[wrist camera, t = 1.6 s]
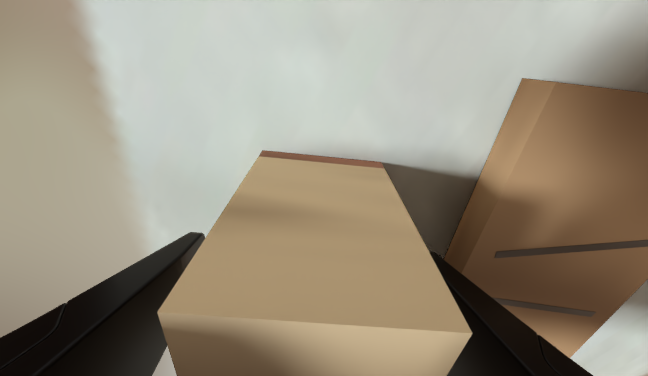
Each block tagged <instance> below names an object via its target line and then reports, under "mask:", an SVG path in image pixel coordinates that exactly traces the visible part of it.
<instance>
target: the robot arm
mask: <svg viewBox="0 0 648 376" xmlns="http://www.w3.org/2000/svg"><path fill="white" fill-rule="evenodd" d="M204 240H205V236H204V234H203V233H197V232H190V233H188V234H186V235H184V236H183V237H181V238H179V239H177V240H176V241H174V242H172V243H170V244H168V245H167V246H165V247H163V248H161V249H160V250H158V251H156V252H154V253H152V254H151V255H149V256H147V257H145V258H144V259H142V260H140V261H138V262H137V263H135V264H133V265H131V266H130V267H128V268H126V269H124V270H122V271H121V272H119V273H117V274H115V275H113V276H112V277H110V278H108V279H106V280H105V281H103V282H101V283H99V284H98V285H96V286H94V287H92V288H90V289H88V290H87V291H85V292H83V293H81V294H80V295H78V296H76V297H75V298H72V299H71V300H69V301H68V302H67V303H64V304H62V305H60V306H58V307H56V308H55V309H53V310H51V311H49V312H47V313H46V314H44V315H42V316H40V317H38V318H37V319H35V320H33V321H31V322H29V323H27V324H26V325H24V326H22V327H20V328H18V329H16V330H14V331H12V332H11V333H9V334H7V335H5V336H3V337H1V338H0V376H152V374H153V373H154V371H155V369H156V367H157V365H158V363H159V361H160V359H161V357H162V355H163V353H164V351H165V349H166V347H167V342H166V339H165V336H164V332H163V329H162V326H161V323H160V320H159V317H158V313H157V312H158V310H159V309H160V307H161V306H162V304H163V303H164V301H165V300H166V298H167V297H168V295H169V293H170V292H171V290H172V289H173V287H174V286H175V284H176V283H177V281H178V280H179V278H180V277H181V275H182V274H183V272H184V270H185V269H186V267H187V266H188V264H189V263H190V261H191V260H192V258H193V257H194V255H195V254H196V252H197V250H198V249H199V247H200V246H201V244H202V243H203V241H204ZM429 253H430V255H431V257H432V258H433V260H434V262H435V264H436V266H437V268H438V270H439V272H440V273H441V275H442V277H443V279H444V281H445V283H446V285H447V286H448V288H449V290H450V292H451V294H452V296H453V298H454V300H455V301H456V303H457V305H458V307H459V309H460V311H461V313H462V315H463V316H464V318H465V320H466V322H467V324H468V326H469V328H470V330H471V331H472V333H473V334H472V335H471V337H470V338H469V340H468V342H467V343H466V345H465V347H464V348H463V350H462V351H461V353H460V355H459V356H458V358H457V360H456V361H455V363H454V364H453V366H452V368H451V369H450V371H449V372H448V374H447V376H593V375H592V374H590V373H589V372H588V371H586V370H585V369H583V368H582V367H581V366H579V365H578V364H577V363H575V362H574V361H573V360H571V359H570V358H569V357H567V356H566V355H565V354H564V353H562V352H561V351H560V350H558V349H557V348H556V347H554V346H553V345H552V344H551V343H549V342H548V341H547V340H545V339H544V338H543V337H542V336H540V335H537V333H536V332H535V331H534V330H533V329H531V328H530V327H529V326H528V325H526V324H525V323H524V322H522V321H521V320H520V319H519V318H517V317H516V316H515V315H514V314H512V313H511V312H510V311H508V310H507V309H506V308H505V307H503V306H502V305H501V304H500V303H498V302H497V301H496V300H494V299H493V298H492V297H491V296H489V295H488V294H487V293H486V292H484V291H483V290H482V289H480V288H479V287H478V286H477V285H475V284H474V283H473V282H472V281H470V280H469V279H468V278H466V277H465V276H464V275H463V274H461V273H460V272H459V271H458V270H456V269H455V268H454V267H452V266H451V265H450V264H449V263H447V262H446V261H445V260H444V259H442V258H441V257H440V256H438V255H437V254H436V253H434V252H430V251H429Z"/></svg>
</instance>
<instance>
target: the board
mask: <svg viewBox="0 0 648 376" xmlns="http://www.w3.org/2000/svg"><path fill="white" fill-rule="evenodd" d="M444 260H445V261H446V262H447V263H449V264H450V265H451V266H452V267H454V268H455V269H456V270H458V271H459V272H460V273H461V274H463V275H464V276H465V277H466V278H468V279H469V280H470V281H472V282H473V283H474V284H475V285H477V286H478V287H479V288H480V289H482V290H483V291H484V292H486V293H487V294H488V295H489V296H491V297H492V298H493V299H494V300H496V301H497V302H498V303H500V304H501V305H502V306H503V307H505V308H506V309H507V310H508V311H510V312H511V313H512V314H514V315H515V316H516V317H517V318H519V319H520V320H521V321H522V322H524V323H525V324H526V325H528V326H529V327H530V328H531V329H533V330H534V331H535V332H536V333H537V335H540V336H542V337H543V338H544V339H545V340H547V341H548V342H549V343H551V344H552V345H553V346H554V347H556V348H557V349H558V350H560V351H561V352H562V353H564V354H565V355H566V356H567V357H569V358H570V357H571V356H572V355H573V354H574V353H575V352H576V351H577V350H578V349H579V348H580V347H581V346H582V345H583V344H584V343H585V342H586V341H587V340H588V339H589V338H590V337H591V336H592V335H593V334H594V333H595V332H596V331H597V330H598V329H599V328H600V327H601V326H602V325H603V324H604V323H605V322H606V321H607V320H608V319H609V318H610V317H611V316H612V315H613V314H614V313H615V312H616V311H617V310H618V309H619V308H620V307H621V306H622V305H623V304H624V303H625V302H626V301H627V300H628V299H629V298H630V296H631V295H632V294H633V293H634V292H635V291H636V290H637V289H638V288H639V287H640V286H641V285H642V284H643V283H644V282H645V281H646V280H647V279H648V93H643V92H635V91H626V90H618V89H609V88H601V87H592V86H584V85H576V84H567V83H559V82H550V81H541V80H533V79H524V78H522V80H521V83H520V85H519V87H518V90H517V92H516V94H515V96H514V99H513V101H512V103H511V106H510V108H509V110H508V113H507V115H506V117H505V119H504V122H503V124H502V126H501V129H500V131H499V133H498V136H497V138H496V140H495V142H494V145H493V147H492V149H491V152H490V154H489V156H488V159H487V161H486V163H485V165H484V168H483V170H482V172H481V175H480V177H479V179H478V182H477V184H476V186H475V188H474V191H473V193H472V195H471V198H470V200H469V202H468V205H467V207H466V209H465V211H464V214H463V216H462V218H461V221H460V223H459V225H458V228H457V230H456V232H455V234H454V237H453V239H452V241H451V244H450V246H449V248H448V251H447V253H446V255H445V257H444Z"/></svg>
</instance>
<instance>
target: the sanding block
mask: <svg viewBox="0 0 648 376" xmlns="http://www.w3.org/2000/svg"><path fill="white" fill-rule="evenodd" d="M157 313H158V317H159V320H160V323H161V326H162V329H163V332H164V336H165V339H166V342H167V345H168V348H169V352H170V355H171V358H172V361H173V364H174V368H175V370H176V374H177V376H447V374H448V372H449V371H450V369H451V368H452V366H453V364H454V363H455V361H456V360H457V358H458V356H459V355H460V353H461V351H462V350H463V348H464V347H465V345H466V343H467V342H468V340H469V338H470V337H471V335H472V334H473V333H472V331H471V330H470V328H469V326H468V324H467V322H466V320H465V318H464V316H463V315H462V313H461V311H460V309H459V307H458V305H457V303H456V301H455V300H454V298H453V296H452V294H451V292H450V290H449V288H448V286H447V285H446V283H445V281H444V279H443V277H442V275H441V273H440V272H439V270H438V268H437V266H436V264H435V262H434V260H433V258H432V257H431V255H430V253H429V251H428V249H427V247H426V245H425V243H424V242H423V240H422V238H421V236H420V234H419V232H418V230H417V228H416V227H415V225H414V223H413V221H412V219H411V217H410V215H409V213H408V212H407V210H406V208H405V206H404V204H403V202H402V200H401V198H400V197H399V195H398V193H397V191H396V189H395V187H394V185H393V183H392V182H391V180H390V178H389V176H388V174H387V172H386V170H385V169H384V167H383V165H382V163H381V162H374V161H364V160H354V159H344V158H334V157H324V156H313V155H303V154H293V153H283V152H273V151H262V152H261V154H260V155H259V157H258V158H257V160H256V161H255V163H254V164H253V166H252V167H251V169H250V171H249V172H248V174H247V175H246V177H245V178H244V180H243V181H242V183H241V184H240V186H239V187H238V189H237V191H236V192H235V194H234V195H233V197H232V198H231V200H230V201H229V203H228V204H227V206H226V207H225V209H224V211H223V212H222V214H221V215H220V217H219V218H218V220H217V221H216V223H215V224H214V226H213V227H212V229H211V230H210V232H209V234H208V235H207V237H206V238H205V240H204V241H203V243H202V244H201V246H200V247H199V249H198V250H197V252H196V254H195V255H194V257H193V258H192V260H191V261H190V263H189V264H188V266H187V267H186V269H185V270H184V272H183V274H182V275H181V277H180V278H179V280H178V281H177V283H176V284H175V286H174V287H173V289H172V290H171V292H170V293H169V295H168V297H167V298H166V300H165V301H164V303H163V304H162V306H161V307H160V309H159V310H158V312H157Z"/></svg>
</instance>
